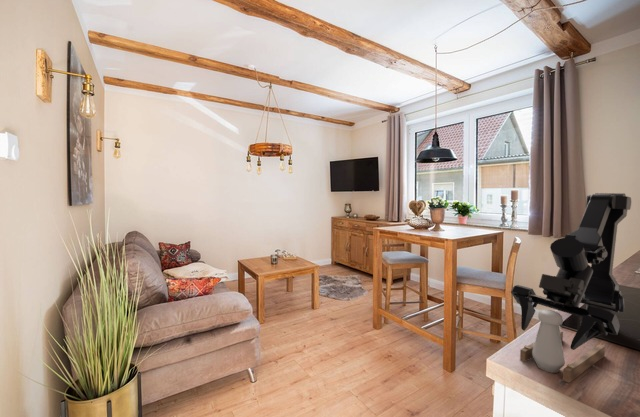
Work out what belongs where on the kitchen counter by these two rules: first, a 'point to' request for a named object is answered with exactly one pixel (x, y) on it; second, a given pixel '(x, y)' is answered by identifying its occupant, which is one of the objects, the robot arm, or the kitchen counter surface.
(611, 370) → the kitchen counter surface
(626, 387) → the kitchen counter surface
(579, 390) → the kitchen counter surface
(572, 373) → the pair of wooden rails
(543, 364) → the salt shaker
